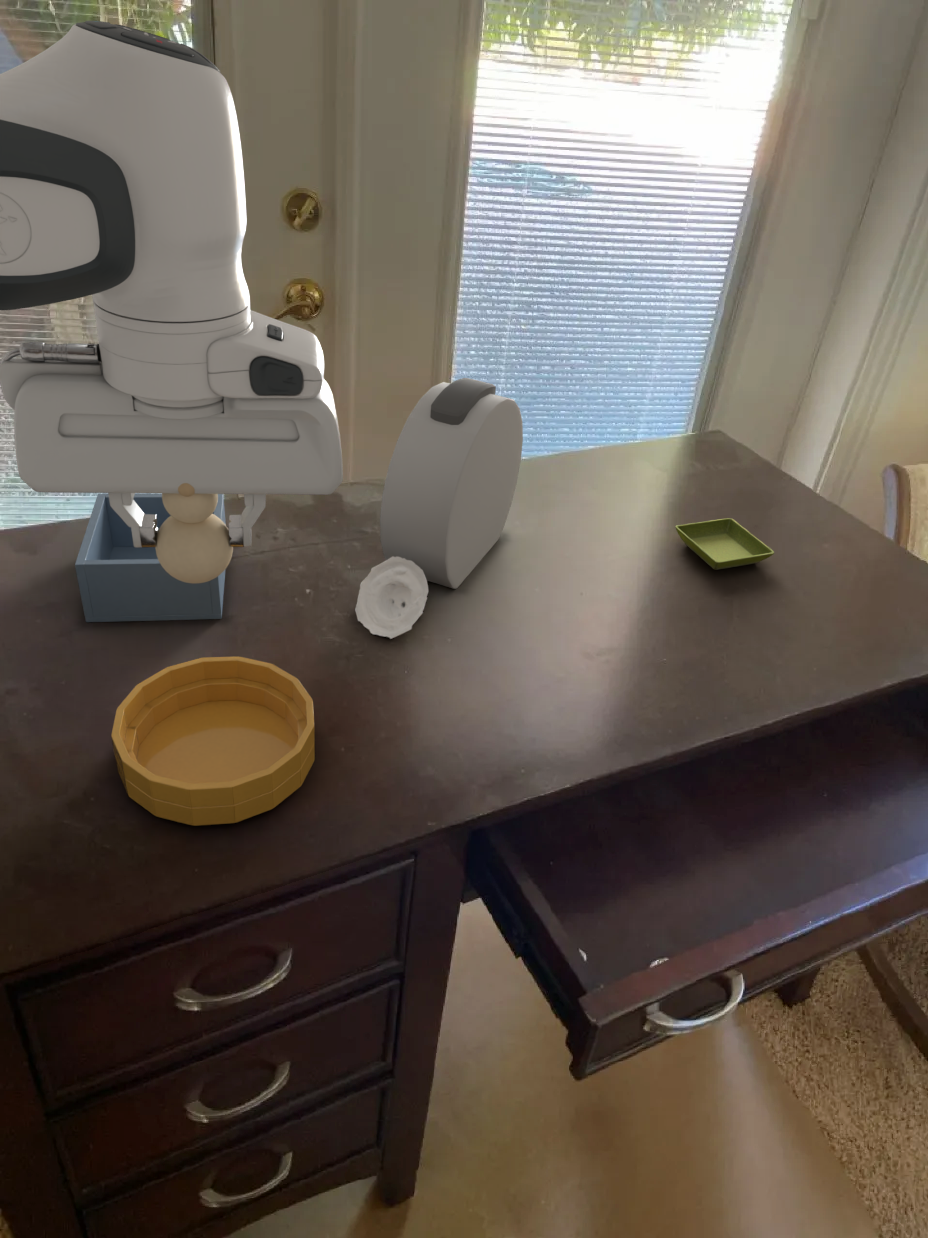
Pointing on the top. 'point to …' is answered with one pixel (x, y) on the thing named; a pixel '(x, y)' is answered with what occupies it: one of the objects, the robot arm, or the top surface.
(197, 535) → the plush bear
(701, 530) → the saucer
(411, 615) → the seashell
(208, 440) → the robot arm
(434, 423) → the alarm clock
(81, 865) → the top surface
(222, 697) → the bowl
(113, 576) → the bin
